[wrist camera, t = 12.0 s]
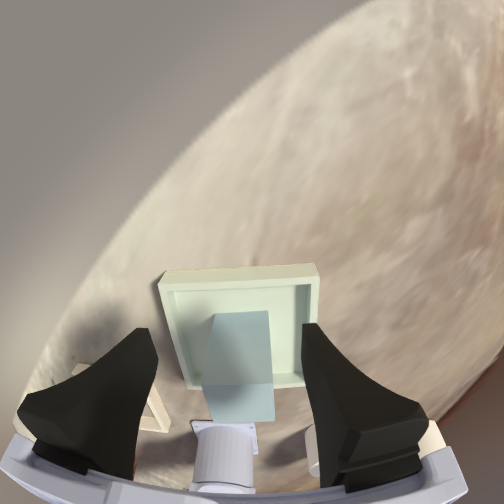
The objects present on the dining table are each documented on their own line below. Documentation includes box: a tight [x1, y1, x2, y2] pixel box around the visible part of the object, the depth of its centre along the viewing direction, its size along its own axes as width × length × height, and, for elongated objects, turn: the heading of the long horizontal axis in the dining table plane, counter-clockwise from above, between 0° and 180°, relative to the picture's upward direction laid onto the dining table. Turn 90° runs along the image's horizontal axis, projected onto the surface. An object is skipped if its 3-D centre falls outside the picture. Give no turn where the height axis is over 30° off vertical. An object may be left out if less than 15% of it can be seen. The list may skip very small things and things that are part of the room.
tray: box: [158, 263, 320, 390], centre depth 24 cm, size 12×12×2 cm
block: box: [201, 310, 275, 423], centre depth 20 cm, size 4×4×8 cm
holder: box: [71, 363, 171, 433], centre depth 29 cm, size 10×10×2 cm
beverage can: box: [418, 420, 446, 459], centre depth 29 cm, size 8×8×12 cm
